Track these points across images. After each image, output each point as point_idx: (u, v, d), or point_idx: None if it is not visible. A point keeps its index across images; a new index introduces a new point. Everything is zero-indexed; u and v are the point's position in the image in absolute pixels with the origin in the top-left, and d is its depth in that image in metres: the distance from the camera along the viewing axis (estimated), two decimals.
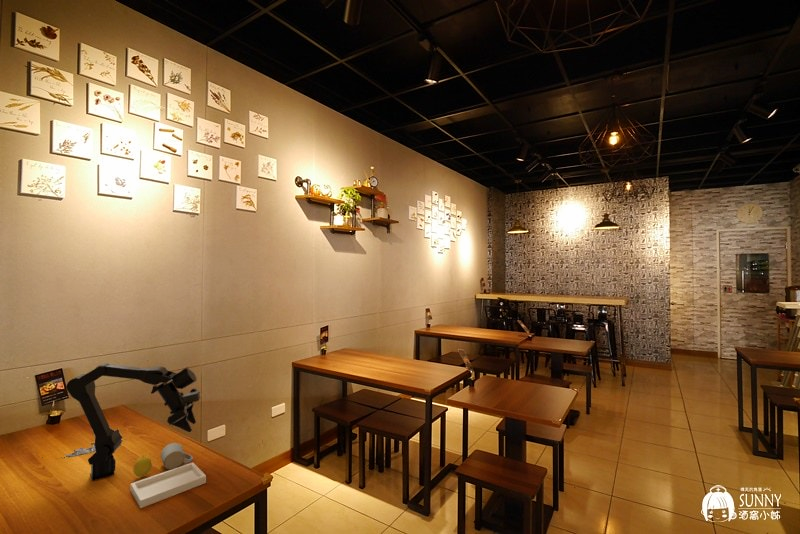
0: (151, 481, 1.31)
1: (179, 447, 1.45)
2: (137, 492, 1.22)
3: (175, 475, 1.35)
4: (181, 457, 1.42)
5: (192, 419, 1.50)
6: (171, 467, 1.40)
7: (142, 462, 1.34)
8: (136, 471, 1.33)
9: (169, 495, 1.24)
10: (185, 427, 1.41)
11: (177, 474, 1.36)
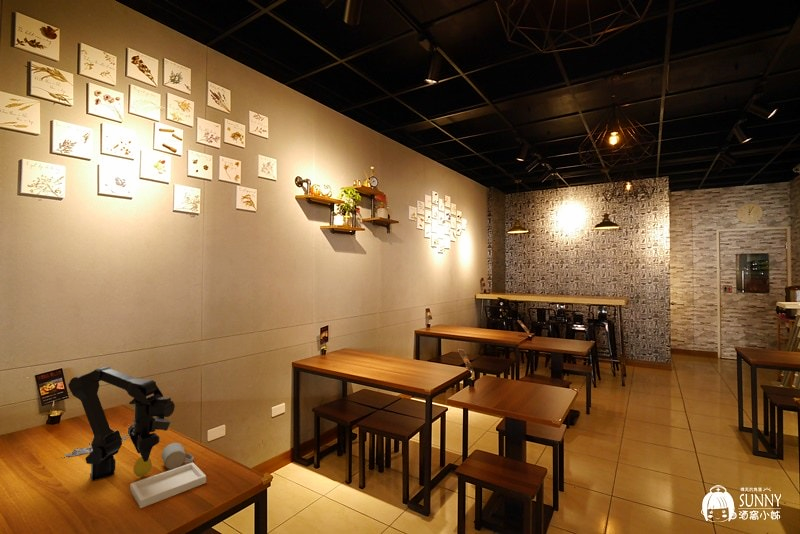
0: (151, 481, 1.31)
1: (180, 447, 1.46)
2: (137, 492, 1.22)
3: (175, 475, 1.35)
4: (182, 457, 1.43)
5: None
6: (172, 467, 1.41)
7: (142, 462, 1.34)
8: (136, 471, 1.33)
9: (169, 495, 1.24)
10: (145, 455, 1.32)
11: (177, 474, 1.36)
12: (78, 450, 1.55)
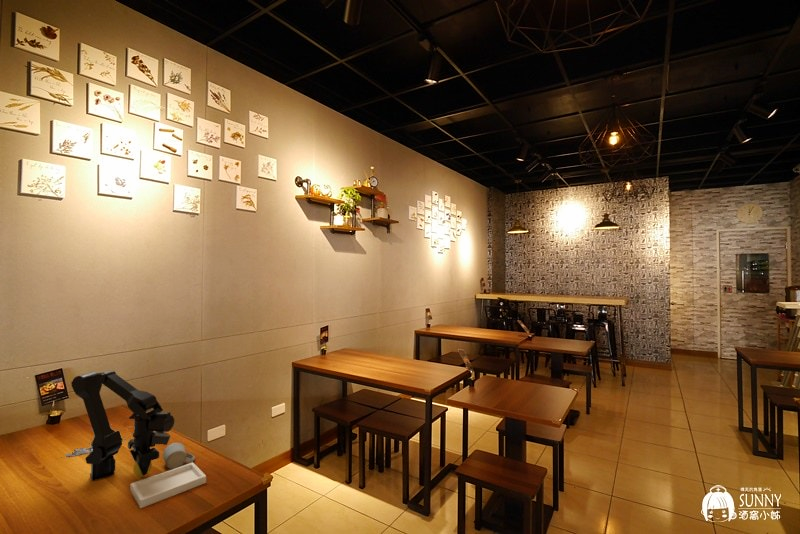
0: (151, 481, 1.31)
1: (181, 446, 1.46)
2: (137, 492, 1.22)
3: (175, 475, 1.35)
4: (183, 456, 1.43)
5: None
6: (173, 466, 1.41)
7: None
8: (136, 471, 1.33)
9: (169, 495, 1.24)
10: (143, 469, 1.33)
11: (177, 474, 1.36)
12: (78, 450, 1.55)
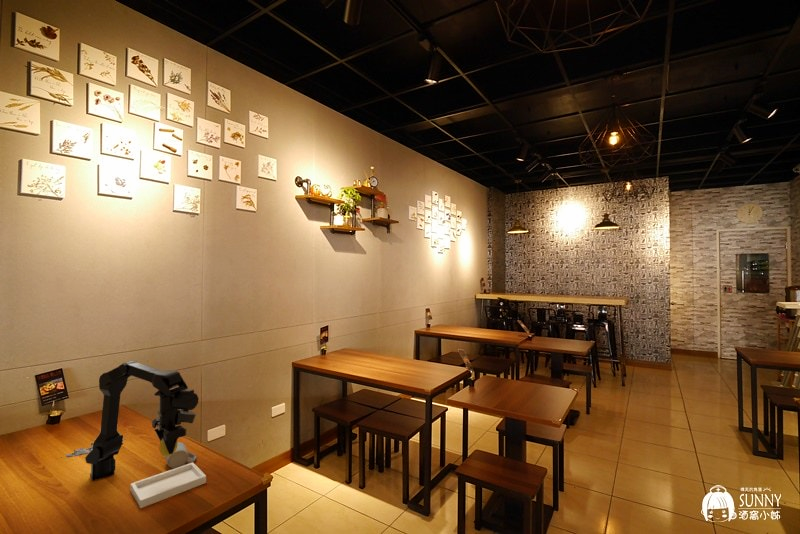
0: (151, 481, 1.31)
1: (183, 446, 1.46)
2: (137, 492, 1.22)
3: (175, 475, 1.35)
4: (185, 456, 1.43)
5: None
6: (175, 466, 1.41)
7: None
8: (162, 450, 1.28)
9: (169, 495, 1.24)
10: (170, 447, 1.28)
11: (177, 474, 1.36)
12: (78, 450, 1.55)
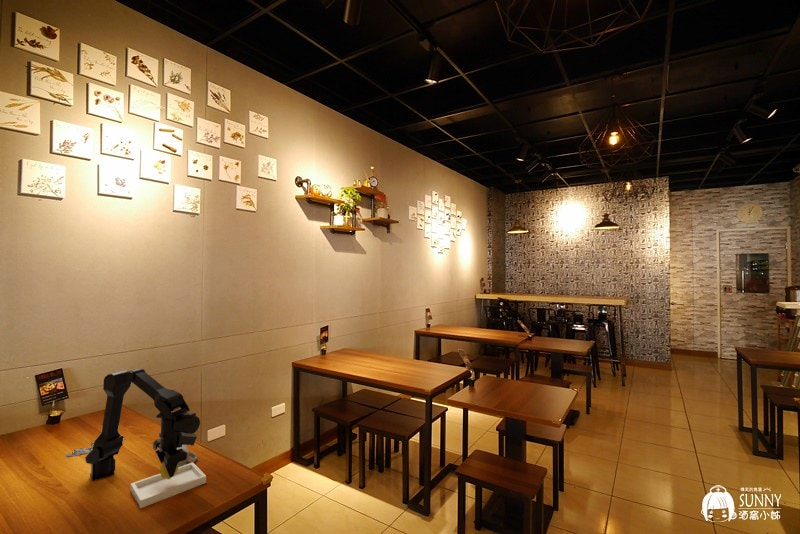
0: (151, 481, 1.31)
1: (184, 446, 1.46)
2: (137, 492, 1.22)
3: (175, 475, 1.35)
4: None
5: None
6: None
7: None
8: (163, 473, 1.27)
9: (169, 495, 1.24)
10: (170, 470, 1.27)
11: (177, 474, 1.36)
12: (78, 450, 1.55)
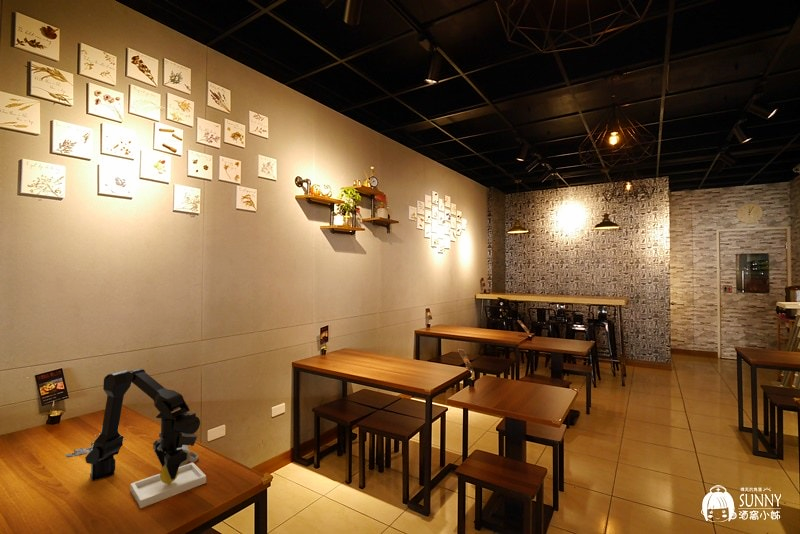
0: (151, 481, 1.31)
1: (185, 446, 1.47)
2: (137, 492, 1.22)
3: None
4: (187, 455, 1.44)
5: None
6: None
7: None
8: (163, 478, 1.27)
9: (169, 495, 1.24)
10: (172, 472, 1.26)
11: None
12: (78, 450, 1.55)
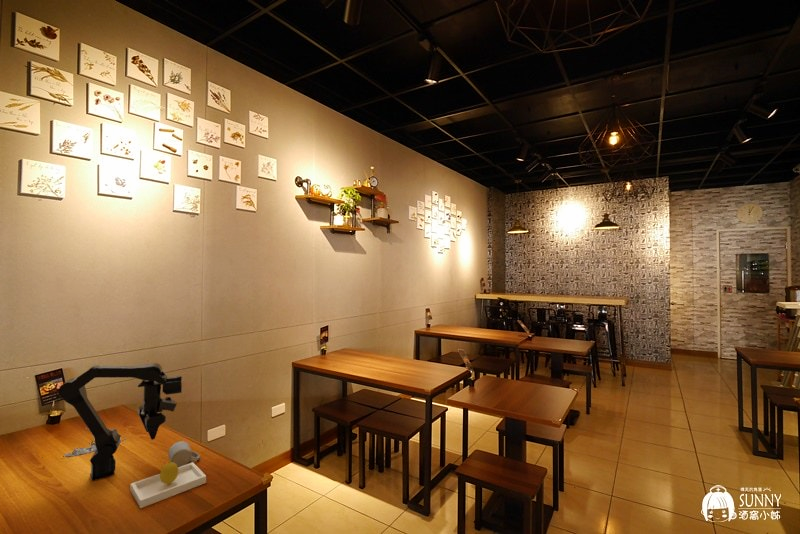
0: (151, 481, 1.31)
1: (186, 445, 1.47)
2: (137, 492, 1.22)
3: None
4: (188, 455, 1.44)
5: None
6: (179, 465, 1.42)
7: (169, 469, 1.28)
8: (163, 478, 1.27)
9: (169, 495, 1.24)
10: (152, 433, 1.40)
11: None
12: (78, 450, 1.55)
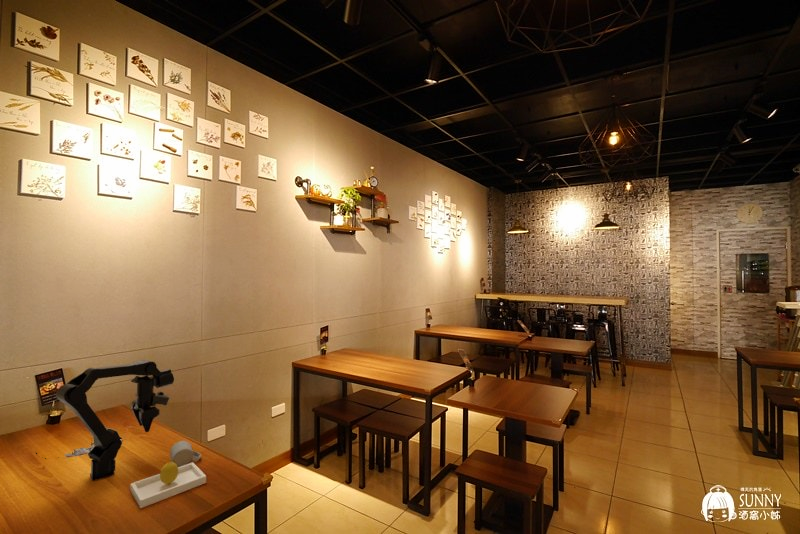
0: (151, 481, 1.31)
1: (188, 445, 1.47)
2: (137, 492, 1.22)
3: None
4: (190, 455, 1.44)
5: None
6: (180, 464, 1.42)
7: (169, 469, 1.28)
8: (163, 478, 1.27)
9: (169, 495, 1.24)
10: (146, 426, 1.46)
11: None
12: (78, 450, 1.55)
